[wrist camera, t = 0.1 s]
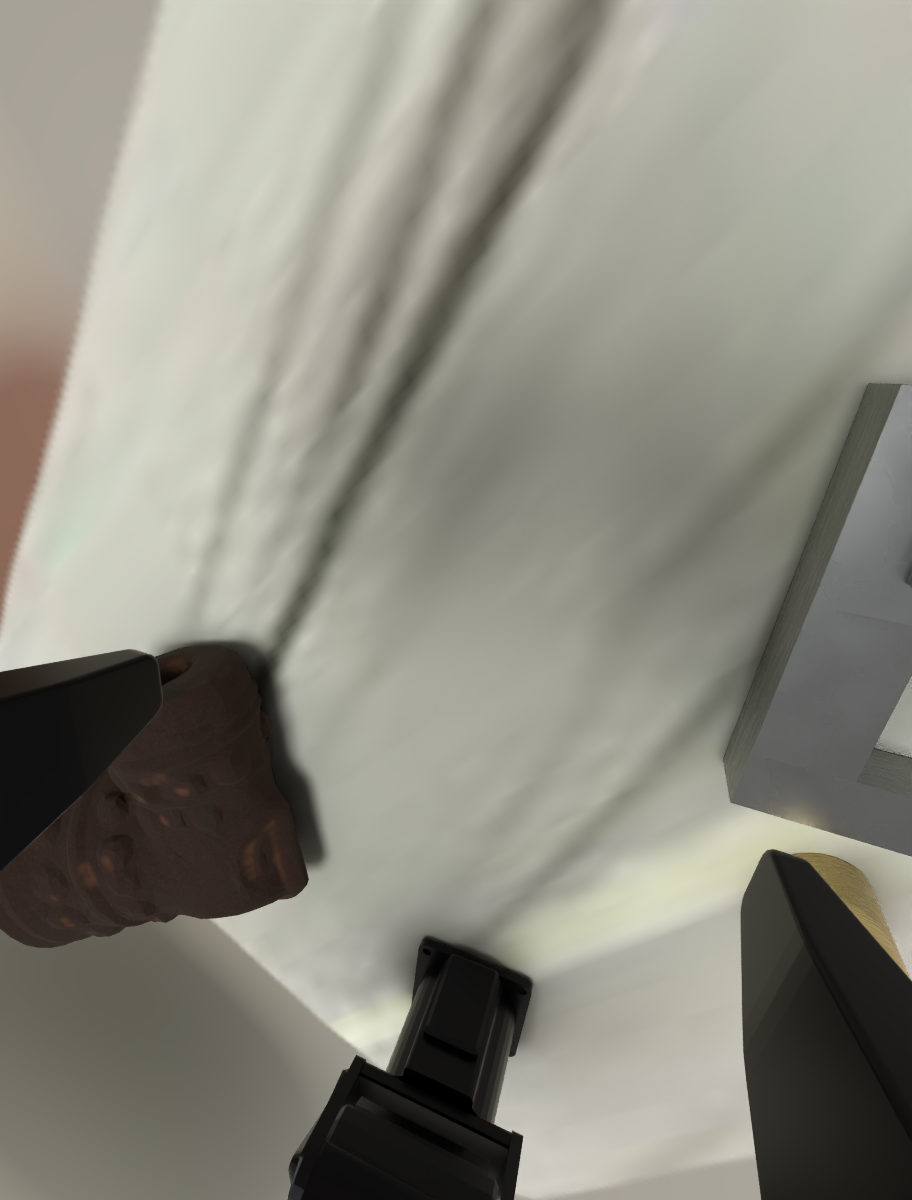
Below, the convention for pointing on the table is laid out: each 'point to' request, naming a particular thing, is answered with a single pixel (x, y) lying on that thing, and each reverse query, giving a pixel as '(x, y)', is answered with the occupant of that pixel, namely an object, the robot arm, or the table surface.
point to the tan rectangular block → (856, 898)
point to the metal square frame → (841, 650)
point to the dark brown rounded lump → (166, 820)
